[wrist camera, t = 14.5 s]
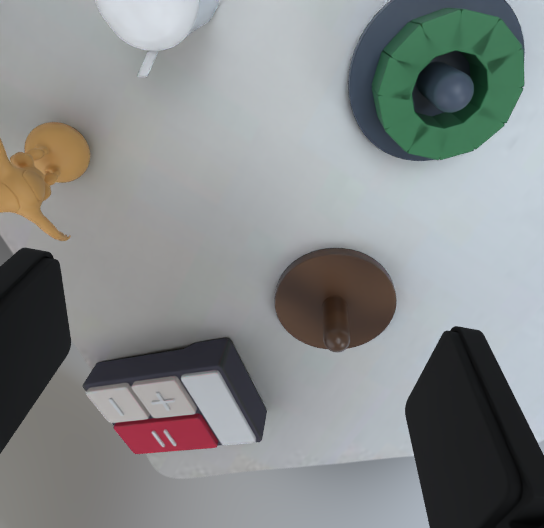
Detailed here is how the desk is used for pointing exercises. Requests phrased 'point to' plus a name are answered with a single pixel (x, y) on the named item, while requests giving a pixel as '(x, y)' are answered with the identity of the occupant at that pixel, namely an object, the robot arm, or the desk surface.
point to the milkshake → (155, 23)
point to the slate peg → (431, 80)
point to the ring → (483, 71)
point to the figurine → (41, 171)
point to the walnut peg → (335, 299)
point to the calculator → (179, 398)
